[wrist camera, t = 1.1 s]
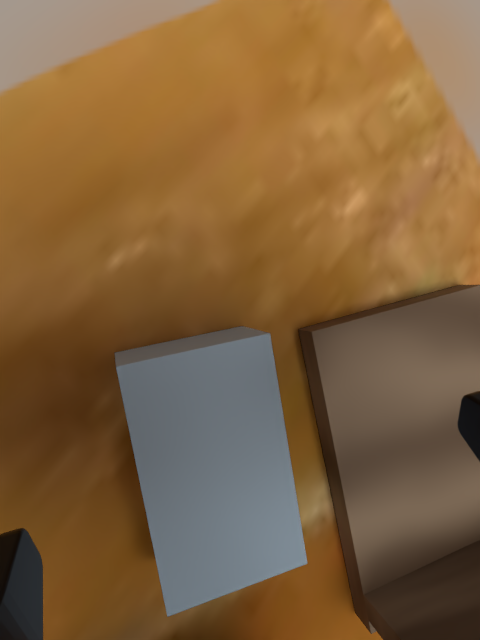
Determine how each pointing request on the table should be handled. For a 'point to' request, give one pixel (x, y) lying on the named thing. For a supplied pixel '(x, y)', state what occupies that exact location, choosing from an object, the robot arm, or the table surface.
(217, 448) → the grey rectangular block
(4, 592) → the robot arm
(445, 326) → the walnut shelf
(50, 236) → the table surface
